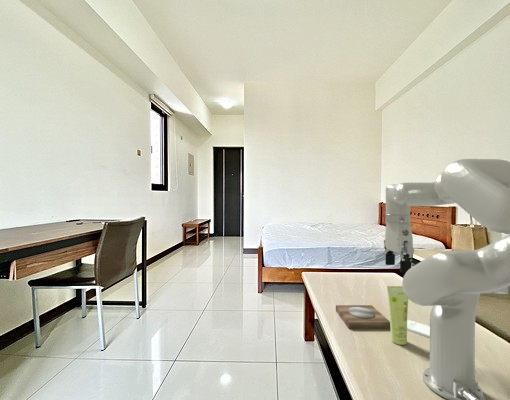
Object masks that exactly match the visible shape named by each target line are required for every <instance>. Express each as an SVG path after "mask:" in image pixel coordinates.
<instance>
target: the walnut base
mask: <svg viewBox="0 0 510 400" xmlns="http://www.w3.org/2000/svg"><path fill="white" fill-rule="evenodd" d="M335 312H336V314H338V316H339V318H340V319H341V320H342V322H343V323H344V324H345V325H346V327H347V329H348V330H349V329H350V330H352V329H353V330H361V329H362V330H363V329H364V330H365V329H366V330H368V329H370V330H373V329H374V330H379V329H380V330H381V329H382V330H383V329H386V330H388V329H390V330H391V328H390V319H388V318H386V316H384V315H383V314H382V313H381V312H380V311H379V310H378V309H377V308H375V307H374V306H373V305H372V304H369V305H368V304H364V305H361V304H356V305H355V304H352V305H351V304H345V305H343V304H342V305H341V304H336V305H335Z"/></svg>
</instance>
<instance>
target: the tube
mask: <svg viewBox="0 0 510 400" xmlns="http://www.w3.org/2000/svg"><path fill="white" fill-rule="evenodd" d="M386 286H387V287H386V290H387V297H388V298H387V299H388V309H389V310H388V311H389V321H390V340H391V342H392V343H394V344H396V345H402V346H403V345H407V344H408V343H407V342H408V330H407V319H408V316H409V315H408V312H409V299H408V297H407V296H406V295H405V293H404V291H403V286H402V285H386Z"/></svg>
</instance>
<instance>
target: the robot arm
mask: <svg viewBox="0 0 510 400" xmlns="http://www.w3.org/2000/svg"><path fill="white" fill-rule="evenodd" d="M451 204H456V205H458V206H459V207H460V208H461V209H463V210H464V211H465V213H467V214H468V215H469V216H470V217H472V218H473V219H474V220H475V221H477V223H479V224H480V225H481V226H483V227H484V228H486V229H488V230H490V231H492V232H495V233H496V234H497V233H498V234H501V235H502V234H503V235H505V236H503V237H501V238H498V239H497V240H495V241H493V242H492V243H490V244H487V245H486V246H483V247H481V248H478V249H471V250H469V249H468V250H446V251H440V252H435V253H433V254H431V255H429V256H427V257H426V258H424V259H423V260H421V261H420V262H418V263H416V264H415V265H413V266H412V265H411V264H412V260H413V257H414V253H415V249H414V243H413V242H414V240H413V230H412V226H411V207H416V206H417V207H434V206H435V207H436V206H443V205H444V206H445V205H451ZM383 245H384V247H383V248H384V253H385V265H387V266H395V265H396V260H395V259H396V254H399V256H400V259H401V260H399V262H400V263H399V271H400V273H401V274H404V275H403V277H402V283H401V286H403V291H404V293H405V295H406V296H407V297H408V300H409V301H411V302H412V303H414V304H415V305H418V306H420V307H431V306H432V307H431V311H430V314H429V326H430V338H429V368H426V369H425V370H424V371H423V373H422V378H423V381H424V384H426V386H427V387H428V388H429V389H430V390H431V391H433V392H434V393H435V394H437V395H438V396H440V397H443V398H445V399H446V400H486V399H487V398H486V397H485V395H484V392H483V390H482V388H481V387H480V385H479V382H477V380H476V354H475V353H476V343H475V342H476V314H477V308H478V304H479V301H480V297H481V294H489V293H495V292H498V291H500V290H502V289H505V288H508V287H510V161H508V160H504V159H501V158H498V159H495V158H462V159H457V160H455V161H453V162H451V163H449V164H448V165H447V166H446V167H445V168H444V169H443V171H442V172H441V173H440V174H439V175H438V176H437V177H436V179H435V181H434V182H416V181H415V182H401V183H396V184H394V183H393V184H388V185H386V188H385V236H384V240H383ZM411 266H412V267H411Z"/></svg>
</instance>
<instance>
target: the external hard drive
mask: <svg viewBox="0 0 510 400" xmlns="http://www.w3.org/2000/svg"><path fill="white" fill-rule="evenodd" d="M408 331H409V332H411V333H414V334H417V335H420V336H422V337H425V338H428V339H430V325H426V324H424V323H421V322H417V321H413V320H410V319H408V318H407V332H408Z"/></svg>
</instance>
